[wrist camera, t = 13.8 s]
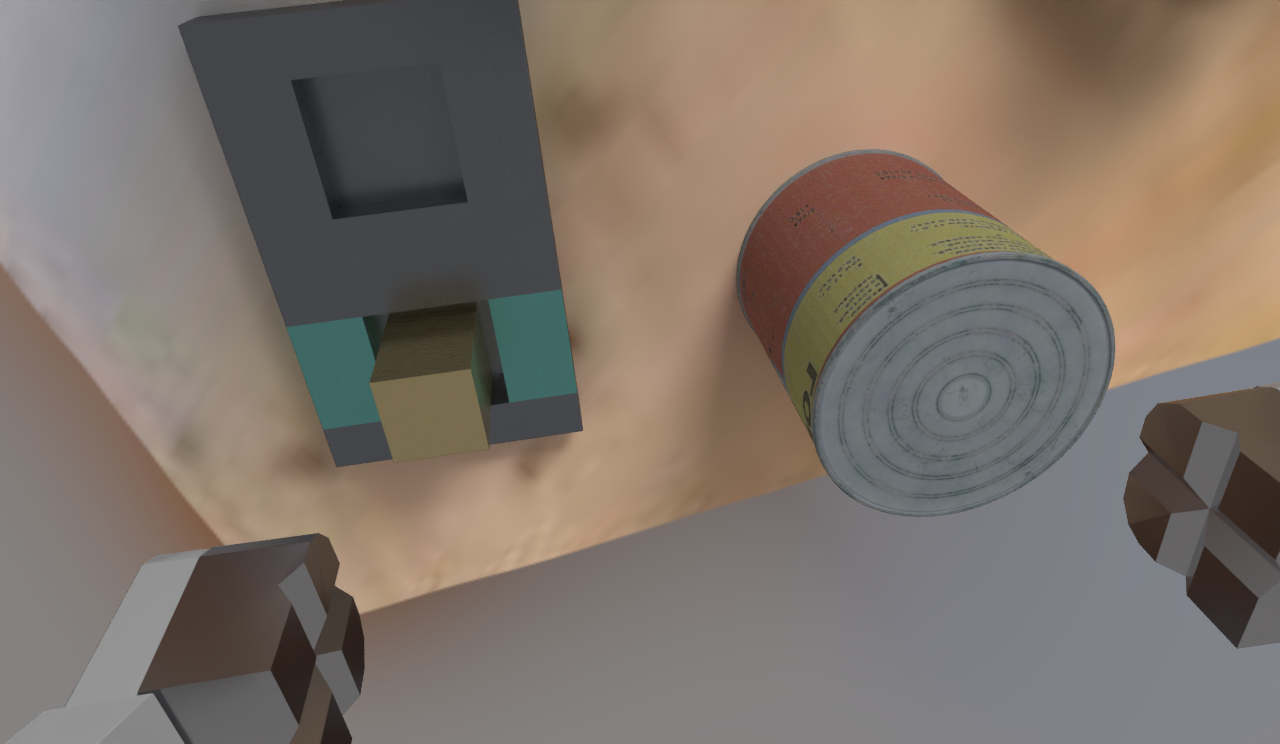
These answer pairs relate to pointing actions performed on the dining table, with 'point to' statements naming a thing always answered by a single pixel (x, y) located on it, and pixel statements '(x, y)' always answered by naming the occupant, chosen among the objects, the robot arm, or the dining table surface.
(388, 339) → the brass peg
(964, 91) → the dining table surface
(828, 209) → the canned food
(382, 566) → the dining table surface
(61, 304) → the dining table surface
